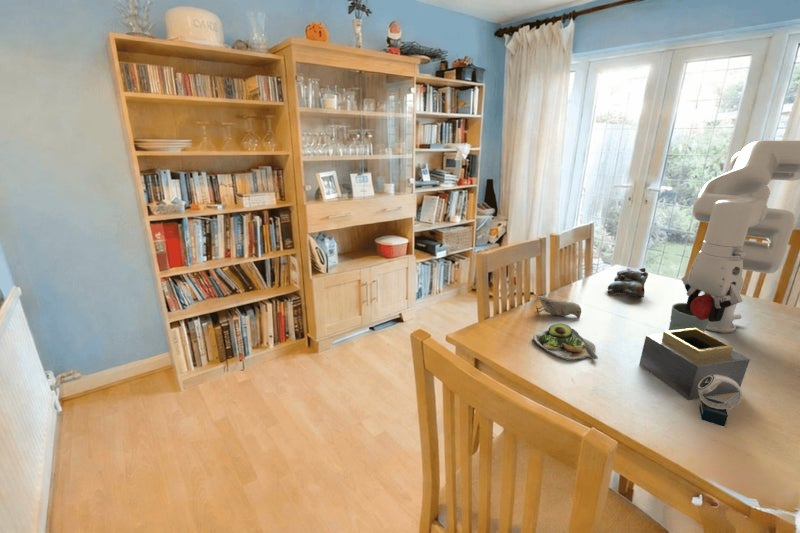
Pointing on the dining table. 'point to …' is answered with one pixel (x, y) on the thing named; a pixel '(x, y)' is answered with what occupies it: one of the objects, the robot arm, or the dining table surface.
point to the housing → (692, 361)
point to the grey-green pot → (685, 319)
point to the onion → (702, 306)
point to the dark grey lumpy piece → (629, 282)
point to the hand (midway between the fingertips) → (702, 314)
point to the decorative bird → (559, 307)
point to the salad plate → (565, 342)
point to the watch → (713, 408)
